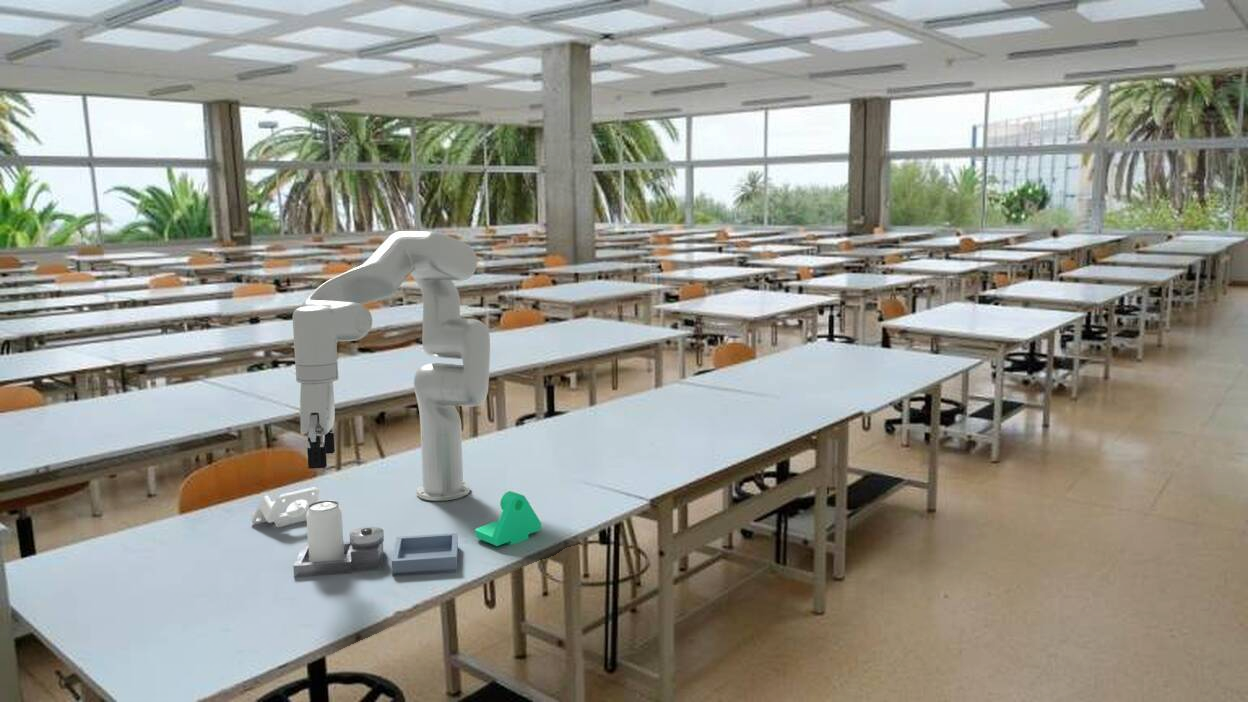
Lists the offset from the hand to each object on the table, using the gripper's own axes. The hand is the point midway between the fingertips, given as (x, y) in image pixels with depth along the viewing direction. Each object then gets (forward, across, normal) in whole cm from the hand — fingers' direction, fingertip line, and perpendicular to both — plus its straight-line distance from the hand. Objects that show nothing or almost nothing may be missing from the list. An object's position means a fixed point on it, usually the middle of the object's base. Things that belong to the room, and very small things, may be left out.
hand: (322, 460), depth 168 cm
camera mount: (+21, -8, +35) cm, 42 cm away
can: (+21, 0, 0) cm, 21 cm away
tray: (+21, +2, +19) cm, 28 cm away
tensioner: (+21, 0, +3) cm, 21 cm away
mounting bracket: (+21, -24, -13) cm, 35 cm away
